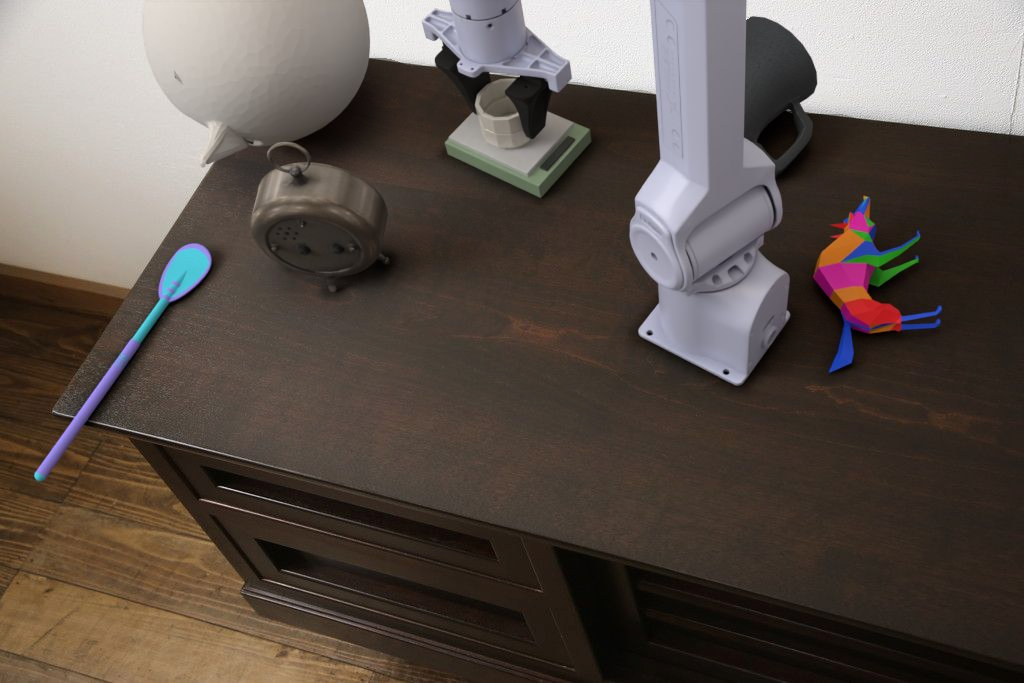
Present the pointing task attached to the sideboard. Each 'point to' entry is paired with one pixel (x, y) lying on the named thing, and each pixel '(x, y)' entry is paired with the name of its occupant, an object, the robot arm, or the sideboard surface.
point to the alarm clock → (318, 219)
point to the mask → (257, 65)
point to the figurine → (861, 281)
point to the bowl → (499, 116)
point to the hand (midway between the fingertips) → (509, 119)
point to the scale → (522, 153)
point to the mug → (776, 83)
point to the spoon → (137, 338)
